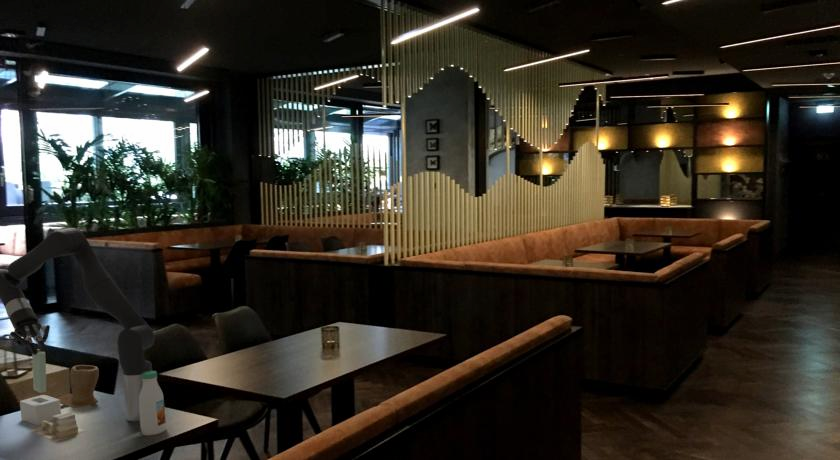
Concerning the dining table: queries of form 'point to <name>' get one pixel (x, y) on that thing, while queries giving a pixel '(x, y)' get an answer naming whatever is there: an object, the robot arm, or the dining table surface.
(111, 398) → the dining table surface
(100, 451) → the dining table surface
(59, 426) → the offcut stack
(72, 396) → the stone cup
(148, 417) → the milk bottle
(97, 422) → the dining table surface
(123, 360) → the robot arm
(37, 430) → the rack
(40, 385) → the tall sheet
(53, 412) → the sheet stand
